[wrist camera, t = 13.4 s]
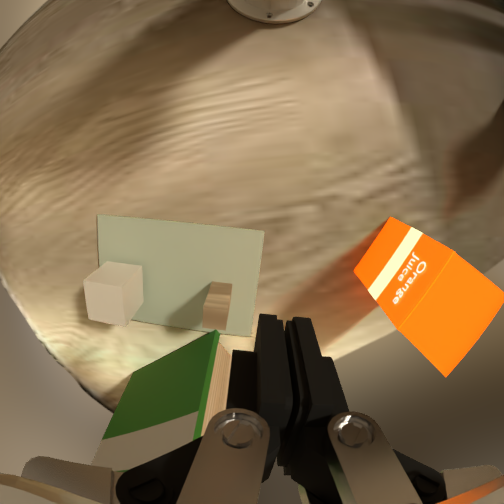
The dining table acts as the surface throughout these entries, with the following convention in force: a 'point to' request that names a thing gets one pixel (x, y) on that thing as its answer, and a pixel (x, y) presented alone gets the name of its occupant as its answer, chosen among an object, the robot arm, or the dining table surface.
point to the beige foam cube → (114, 293)
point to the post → (217, 306)
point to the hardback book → (167, 404)
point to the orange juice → (428, 293)
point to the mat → (185, 267)
